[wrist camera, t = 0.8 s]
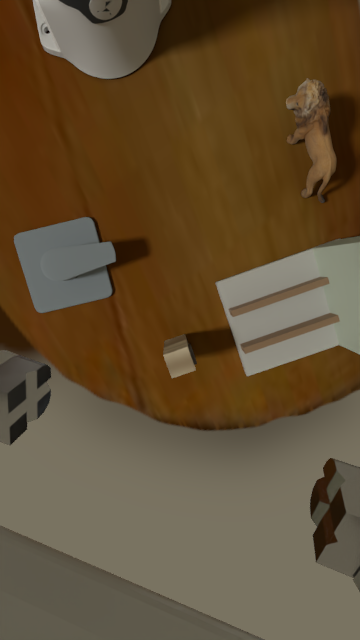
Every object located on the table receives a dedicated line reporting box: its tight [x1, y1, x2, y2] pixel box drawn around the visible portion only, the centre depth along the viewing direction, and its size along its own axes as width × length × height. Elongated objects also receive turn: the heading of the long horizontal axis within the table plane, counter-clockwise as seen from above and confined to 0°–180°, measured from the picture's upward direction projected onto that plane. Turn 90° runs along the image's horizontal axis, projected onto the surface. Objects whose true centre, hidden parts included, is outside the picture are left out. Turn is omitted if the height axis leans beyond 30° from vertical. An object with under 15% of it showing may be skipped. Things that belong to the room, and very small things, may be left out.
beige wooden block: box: [163, 334, 197, 378], centre depth 49 cm, size 4×4×8 cm
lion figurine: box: [286, 78, 337, 203], centre depth 44 cm, size 15×5×9 cm, turn 27°
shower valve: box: [14, 217, 116, 313], centre depth 48 cm, size 12×6×15 cm
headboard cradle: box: [215, 236, 360, 376], centre depth 45 cm, size 16×20×15 cm
